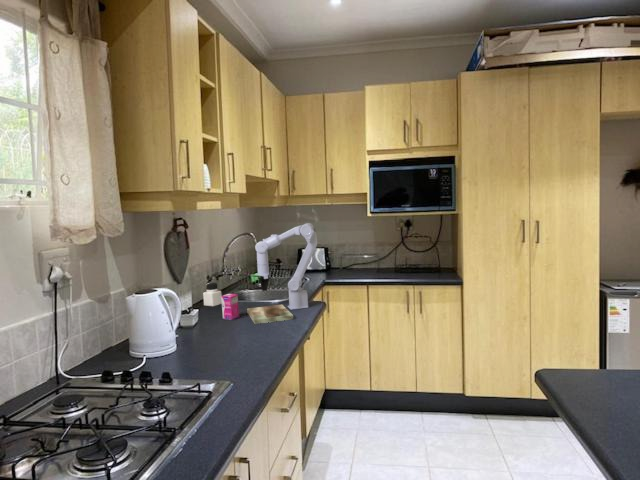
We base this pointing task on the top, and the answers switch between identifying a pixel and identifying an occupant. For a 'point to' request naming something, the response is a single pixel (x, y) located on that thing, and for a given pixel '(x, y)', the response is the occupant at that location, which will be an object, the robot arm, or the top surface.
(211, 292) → the medicine bottle
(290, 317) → the trap deck
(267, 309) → the walnut block
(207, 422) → the top surface
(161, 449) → the top surface
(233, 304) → the supplement box
